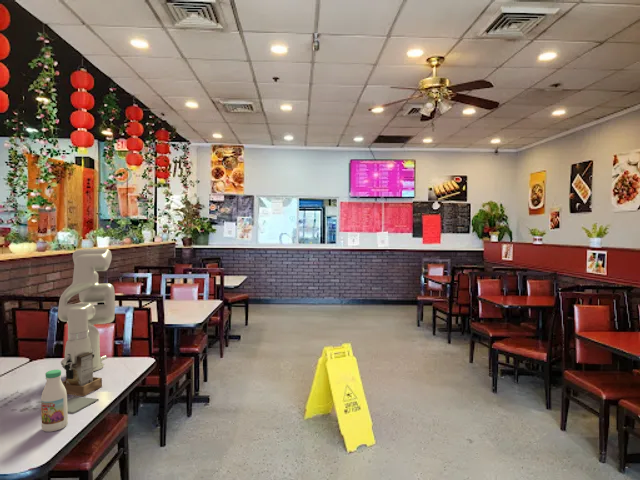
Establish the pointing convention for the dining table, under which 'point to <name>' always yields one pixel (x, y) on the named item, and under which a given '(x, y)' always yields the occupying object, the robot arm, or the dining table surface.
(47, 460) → the dining table surface
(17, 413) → the dining table surface
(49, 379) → the milk bottle
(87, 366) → the coffee box
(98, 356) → the robot arm
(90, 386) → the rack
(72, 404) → the mat
